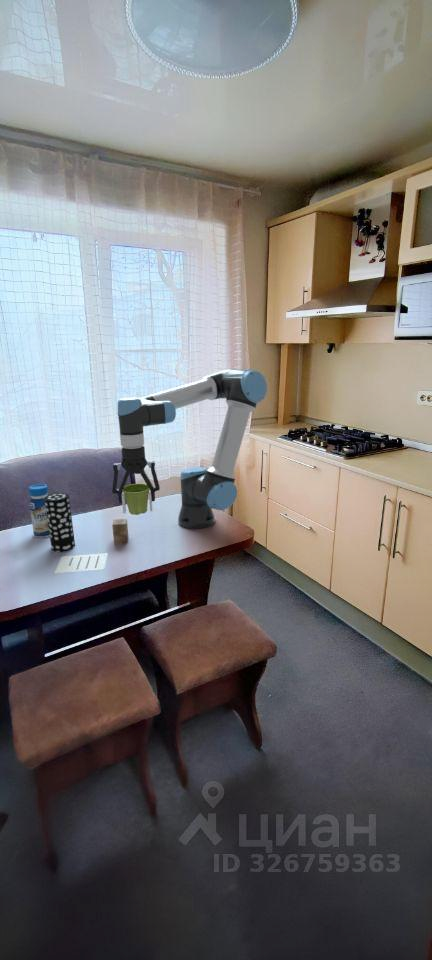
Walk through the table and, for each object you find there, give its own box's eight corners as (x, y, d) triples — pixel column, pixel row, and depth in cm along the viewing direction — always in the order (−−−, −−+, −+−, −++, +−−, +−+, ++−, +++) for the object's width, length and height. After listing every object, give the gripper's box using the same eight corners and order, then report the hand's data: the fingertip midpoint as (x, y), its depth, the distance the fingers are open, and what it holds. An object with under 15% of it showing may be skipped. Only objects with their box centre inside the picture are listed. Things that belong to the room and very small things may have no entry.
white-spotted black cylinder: (47, 552, 158) (39, 500, 152) (58, 542, 166) (51, 492, 160) (69, 553, 157) (62, 501, 151) (79, 543, 165) (72, 493, 159)
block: (128, 537, 169) (126, 518, 166) (127, 543, 164) (126, 523, 162) (115, 538, 168) (113, 519, 166) (114, 544, 163) (112, 524, 161)
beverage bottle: (52, 528, 179) (46, 481, 173) (58, 534, 173) (52, 487, 167) (31, 533, 175) (23, 485, 169) (36, 540, 168) (28, 491, 162)
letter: (107, 553, 156) (107, 553, 156) (104, 569, 145) (104, 569, 145) (61, 557, 154) (61, 556, 154) (54, 573, 143) (54, 573, 143)
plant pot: (146, 517, 143) (144, 493, 141) (119, 516, 145) (117, 491, 143) (155, 507, 152) (154, 484, 150) (130, 506, 154) (128, 483, 151)
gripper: (165, 442, 147) (168, 505, 153) (101, 445, 144) (107, 509, 151) (165, 446, 140) (169, 512, 146) (98, 450, 137) (105, 517, 144)
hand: (138, 510), depth 149 cm, fingers closed on plant pot, 8 cm apart
